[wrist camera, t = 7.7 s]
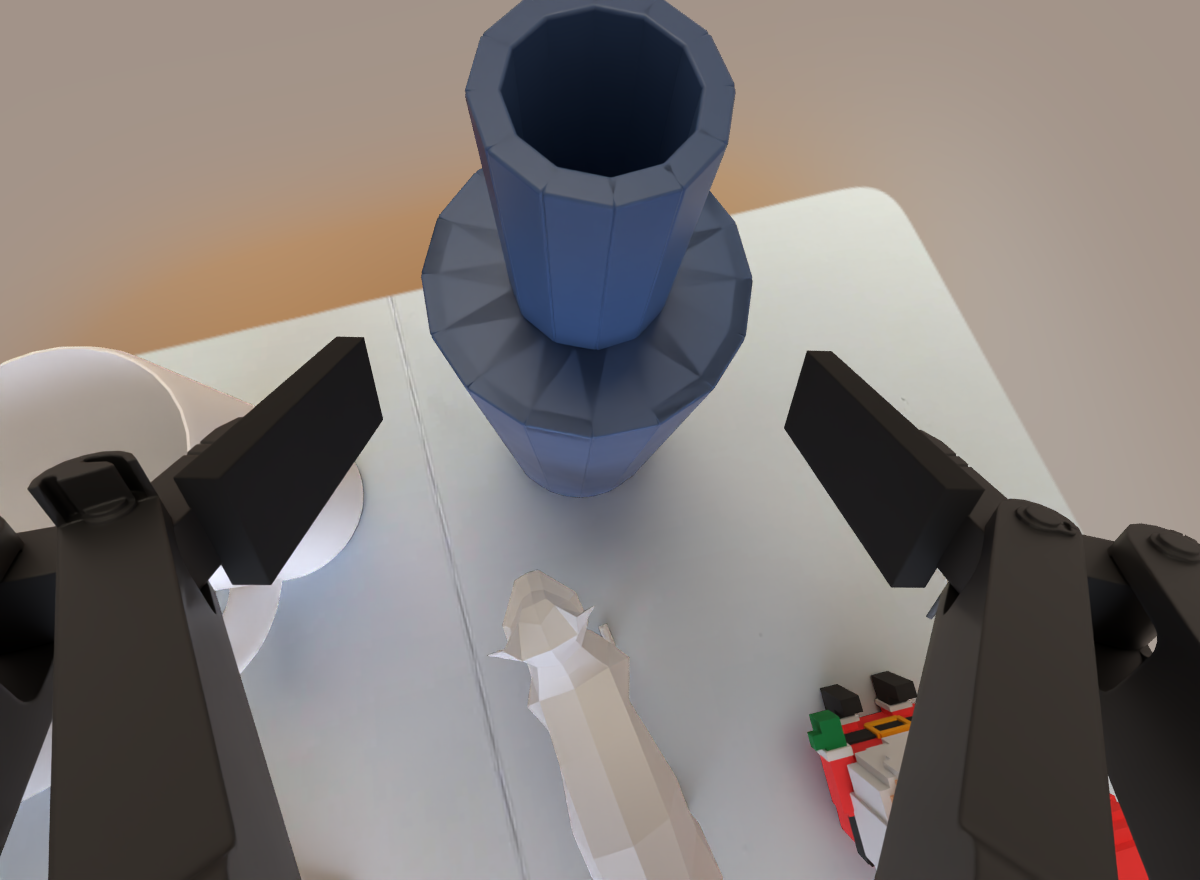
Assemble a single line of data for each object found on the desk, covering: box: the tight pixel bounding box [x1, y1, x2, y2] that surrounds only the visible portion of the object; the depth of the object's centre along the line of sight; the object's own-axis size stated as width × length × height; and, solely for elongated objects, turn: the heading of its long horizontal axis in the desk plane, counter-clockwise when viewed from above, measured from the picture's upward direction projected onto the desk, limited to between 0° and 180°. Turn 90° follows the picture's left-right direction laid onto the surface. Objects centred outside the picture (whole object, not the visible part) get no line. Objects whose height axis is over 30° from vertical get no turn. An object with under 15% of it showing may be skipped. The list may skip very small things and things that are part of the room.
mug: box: [0, 346, 363, 673], centre depth 19 cm, size 8×12×12 cm
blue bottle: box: [421, 0, 752, 497], centre depth 17 cm, size 8×8×21 cm
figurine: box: [807, 671, 1149, 880], centre depth 19 cm, size 8×7×12 cm
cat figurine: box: [487, 570, 723, 880], centre depth 17 cm, size 4×20×14 cm, turn 24°
